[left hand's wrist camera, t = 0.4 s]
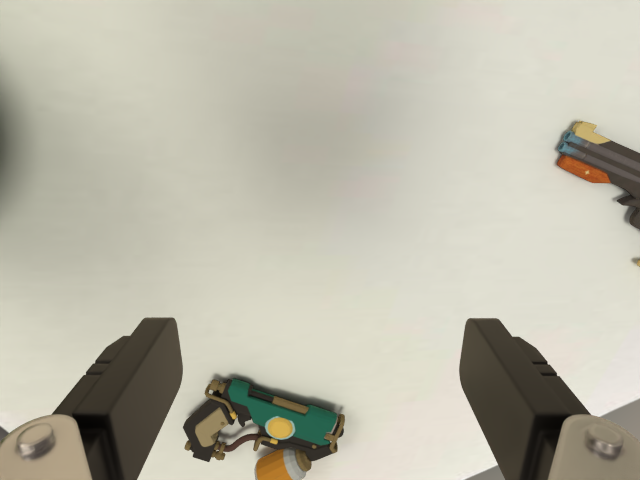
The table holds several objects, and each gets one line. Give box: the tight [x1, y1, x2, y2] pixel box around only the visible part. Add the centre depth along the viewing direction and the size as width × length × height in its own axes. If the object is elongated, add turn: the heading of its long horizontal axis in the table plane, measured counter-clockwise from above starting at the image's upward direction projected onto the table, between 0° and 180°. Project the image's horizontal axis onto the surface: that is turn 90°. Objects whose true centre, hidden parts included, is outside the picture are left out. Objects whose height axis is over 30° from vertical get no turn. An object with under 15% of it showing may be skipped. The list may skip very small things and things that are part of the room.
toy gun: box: [557, 121, 640, 267], centre depth 39 cm, size 3×19×10 cm
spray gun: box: [183, 378, 345, 480], centre depth 48 cm, size 4×17×15 cm
